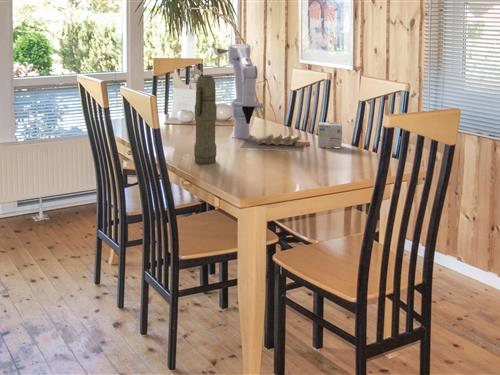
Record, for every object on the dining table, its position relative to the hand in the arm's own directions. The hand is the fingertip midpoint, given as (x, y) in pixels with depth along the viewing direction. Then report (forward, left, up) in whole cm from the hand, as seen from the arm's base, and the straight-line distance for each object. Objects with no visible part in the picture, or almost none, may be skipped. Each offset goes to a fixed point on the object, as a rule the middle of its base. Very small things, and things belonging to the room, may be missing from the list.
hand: (248, 123), depth 352 cm
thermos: (+39, -12, -10) cm, 42 cm away
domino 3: (0, +13, -8) cm, 15 cm away
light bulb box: (-2, +37, -10) cm, 38 cm away
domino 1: (0, +5, -8) cm, 10 cm away
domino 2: (0, +9, -8) cm, 12 cm away
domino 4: (0, +17, -8) cm, 19 cm away
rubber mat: (+2, +12, -9) cm, 15 cm away
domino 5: (0, +21, -8) cm, 22 cm away
